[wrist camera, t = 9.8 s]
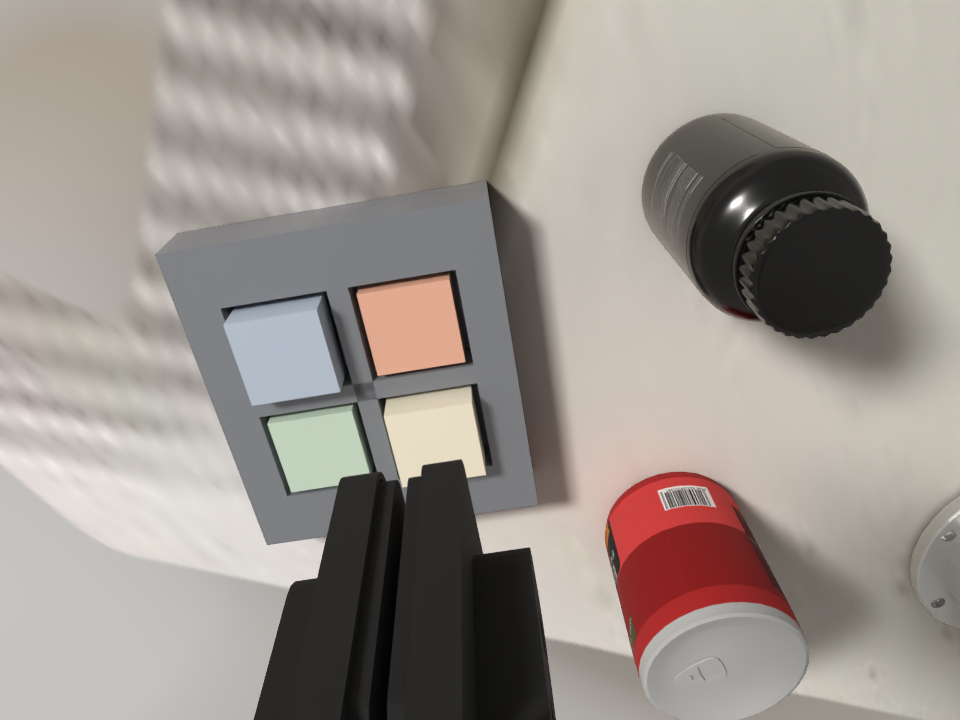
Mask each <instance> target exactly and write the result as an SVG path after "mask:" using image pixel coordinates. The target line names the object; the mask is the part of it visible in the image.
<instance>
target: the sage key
mask: <svg viewBox="0 0 960 720" xmlns="http://www.w3.org/2000/svg"><path fill="white" fill-rule="evenodd" d="M267 425H268V428H269V431H270V433H271V436H272V439H273V442H274V445H275V448H276V450H277V453H278V456H279V459H280V462H281V465H282V467H283V470H284V473H285V476H286V479H287V482H288V485H289V487H290V490H291V492H298V491H305V490H311V489H318V488H324V487H331V486H338V485H339V481H340V479H341V478H342V477H347V476H354V475H360V474H367V473H373V469H374V459H373V456H372V452H371V449H370V445H369V441H368V438H367V434H366V431H365V427H364V424H363V420H362V416H361V413H360V409H359V406H358V402H354V403H348V404H342V405H335V406H329V407H323V408H316V409H310V410H303V411H297V412H291V413H284V414H278V415H272V416H270V419H269V421H268V424H267Z"/></svg>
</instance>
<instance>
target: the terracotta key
mask: <svg viewBox="0 0 960 720" xmlns="http://www.w3.org/2000/svg"><path fill="white" fill-rule="evenodd" d="M357 298H358V302H359V306H360V310H361V314H362V318H363V321H364V325H365V329H366V333H367V337H368V341H369V344H370V348H371V352H372V356H373V360H374V364H375V367H376V371H377V375H378V376H381V375H387V374H393V373H400V372H406V371H412V370H419V369H425V368H431V367H437V366H444V365H450V364H456V363H463V362H465V341H464V336H463V330H462V325H461V320H460V315H459V310H458V305H457V300H456V294H455V289H454V284H453V279H452V274H451V271H445V272H439V273H433V274H427V275H421V276H415V277H409V278H403V279H396V280H390V281H384V282H378V283H372V284H366V285H360V286H359V288H358V292H357Z"/></svg>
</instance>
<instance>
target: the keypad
mask: <svg viewBox="0 0 960 720" xmlns="http://www.w3.org/2000/svg"><path fill="white" fill-rule="evenodd" d="M155 256H156V258H157V261H158V264H159V266H160V269H161V271H162V274H163V277H164V279H165V282H166V284H167V287H168V289H169V292H170V295H171V297H172V300H173V302H174V305H175V308H176V310H177V313H178V315H179V318H180V321H181V323H182V326H183V328H184V331H185V334H186V336H187V339H188V341H189V344H190V346H191V349H192V352H193V354H194V357H195V359H196V362H197V365H198V367H199V370H200V372H201V375H202V378H203V380H204V383H205V385H206V388H207V391H208V393H209V396H210V398H211V401H212V403H213V406H214V409H215V411H216V414H217V416H218V419H219V422H220V424H221V427H222V429H223V432H224V435H225V437H226V440H227V442H228V445H229V448H230V450H231V453H232V455H233V458H234V460H235V463H236V466H237V468H238V471H239V473H240V476H241V479H242V481H243V484H244V486H245V489H246V492H247V494H248V497H249V499H250V502H251V504H252V507H253V510H254V512H255V515H256V517H257V520H258V523H259V525H260V528H261V530H262V533H263V536H264V538H265V541H266V543H267V545H271V544H278V543H285V542H292V541H298V540H305V539H312V538H319V537H325V536H327V533H328V529H329V524H330V520H331V516H332V511H333V507H334V502H335V498H336V493H337V489H338V486H331V487H324V488H318V489H311V490H305V491H298V492H291V490H290V487H289V485H288V482H287V479H286V476H285V473H284V470H283V467H282V465H281V462H280V459H279V456H278V453H277V450H276V448H275V445H274V442H273V439H272V436H271V433H270V431H269V428H268V425H267V424H268V421H269V419H270V416H272V415H278V414H284V413H291V412H297V411H303V410H310V409H316V408H323V407H329V406H335V405H342V404H348V403H354V402H358V406H359V409H360V413H361V416H362V420H363V424H364V427H365V431H366V434H367V438H368V441H369V445H370V449H371V452H372V456H373V459H374V469H373V473H374V472H382V473H383V475H384V477H385V479H386V481H391V480H398V481H399V483H400V486H401V489H402V493H403V496H404V500H405V504H406V494H407V487H403V488H402V484H401V480H400V476H399V473H398V469H397V465H396V461H395V457H394V454H393V450H392V446H391V442H390V439H389V435H388V431H387V427H386V423H385V420H384V412H385V406H386V399H387V397H393V396H399V395H405V394H412V393H418V392H424V391H431V390H437V389H444V388H450V387H456V386H463V385H469V384H471V385H472V390H473V395H474V400H475V405H476V410H477V415H478V420H479V426H480V431H481V436H482V441H483V446H484V451H485V466H486V475H482V476H476V477H469V478H467V481H468V486H469V491H470V495H471V500H472V505H473V509H474V514H481V513H488V512H494V511H501V510H508V509H515V508H521V507H528V506H535V505H538V500H537V493H536V487H535V480H534V473H533V467H532V461H531V455H530V449H529V442H528V436H527V430H526V424H525V418H524V411H523V405H522V399H521V393H520V387H519V380H518V374H517V368H516V362H515V356H514V350H513V343H512V337H511V331H510V325H509V319H508V312H507V306H506V300H505V294H504V288H503V281H502V275H501V269H500V263H499V257H498V250H497V244H496V238H495V232H494V226H493V219H492V213H491V207H490V201H489V195H488V189H487V182H486V181H481V182H475V183H469V184H463V185H457V186H451V187H445V188H440V189H434V190H428V191H422V192H416V193H410V194H405V195H399V196H393V197H387V198H381V199H375V200H369V201H364V202H358V203H352V204H346V205H340V206H334V207H328V208H323V209H317V210H311V211H305V212H299V213H293V214H287V215H282V216H276V217H270V218H264V219H258V220H252V221H246V222H241V223H235V224H229V225H223V226H217V227H211V228H206V229H200V230H194V231H188V232H182V233H177V234H176V235H175V236H174V237H173V238H172V239H171V240H170V241H169V242H168V243H167V244H166V245H165V246H164V247H163V248H162V249H160V250H159V251H158V252H157V253H156V254H155ZM445 271H451V274H452V279H453V284H454V289H455V294H456V300H457V305H458V310H459V315H460V320H461V325H462V330H463V336H464V341H465V362H463V363H456V364H450V365H444V366H437V367H431V368H425V369H419V370H412V371H406V372H400V373H393V374H387V375H381V376H378V375H377V371H376V367H375V364H374V360H373V356H372V352H371V348H370V344H369V341H368V337H367V333H366V329H365V325H364V321H363V318H362V314H361V310H360V306H359V302H358V298H357V292H358V288H359V286H360V285H366V284H372V283H378V282H384V281H390V280H396V279H403V278H409V277H415V276H421V275H427V274H433V273H439V272H445ZM318 293H324V296H325V299H326V303H327V307H328V310H329V314H330V317H331V321H332V324H333V328H334V331H335V335H336V338H337V342H338V345H339V349H340V352H341V356H342V360H343V363H344V367H345V370H346V373H345V377H344V381H343V385H342V388H341V392H337V393H331V394H325V395H318V396H312V397H306V398H299V399H293V400H287V401H280V402H274V403H268V404H261V405H255V406H252V404H251V402H250V399H249V396H248V393H247V391H246V388H245V385H244V382H243V379H242V377H241V374H240V371H239V368H238V365H237V363H236V360H235V357H234V354H233V351H232V349H231V346H230V343H229V340H228V337H227V335H226V332H225V329H224V326H223V325H224V323H225V321H226V320H227V318H228V317H229V315H230V314H231V312H232V311H233V309H234V308H235V307H239V306H245V305H251V304H257V303H263V302H269V301H275V300H281V299H287V298H294V297H300V296H306V295H312V294H318Z"/></svg>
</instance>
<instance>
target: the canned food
mask: <svg viewBox="0 0 960 720" xmlns="http://www.w3.org/2000/svg"><path fill="white" fill-rule="evenodd" d="M605 542H606V548H607V552H608V556H609V560H610V564H611V568H612V572H613V576H614V580H615V584H616V588H617V592H618V596H619V600H620V604H621V608H622V612H623V616H624V620H625V624H626V628H627V632H628V636H629V640H630V645H631V649H632V653H633V657H634V661H635V664H636V667H637V670H638V674H639V678H640V681H641V683H642V685H643V688H644V691H645V693H646V696H647V698H648V700H649V701H650V702H651V703H652V704H653V706H654V707H655V708H657V709H658V710H660V711H661V712H662V713H664V714H665V715H667V716H670V717H672V718H674V719H677V720H741V719H745V718H748V717H752V716H754V715H756V714H759V713H761V712H763V711H766V710H767V709H769V708H771V707H773V706H774V705H776V704H778V703H779V702H780V701H782V700H783V699H784V698H785V697H787V696H788V695H789V694H790V693H791V692H792V691H793V690H794V689H795V688H796V687H797V686H798V685H799V683H800V681H801V680H802V678H803V676H804V675H805V673H806V670H807V667H808V663H809V650H808V646H807V643H806V640H805V638H804V635H803V631H802V629H801V628H800V626H799V624H798V622H797V620H796V618H795V615H794V613H793V611H792V609H791V607H790V605H789V603H788V602H787V600H786V598H785V596H784V594H783V592H782V590H781V588H780V586H779V584H778V583H777V581H776V579H775V577H774V575H773V573H772V571H771V569H770V567H769V565H768V563H767V562H766V560H765V558H764V556H763V554H762V552H761V550H760V548H759V546H758V544H757V543H756V541H755V539H754V537H753V535H752V533H751V531H750V529H749V527H748V525H747V523H746V522H745V520H744V518H743V516H742V514H741V512H740V510H739V508H738V506H737V504H736V503H735V501H734V500H733V498H732V497H731V495H730V494H729V493H728V492H727V491H725V490H724V489H723V488H722V487H721V486H720V485H718V484H717V483H716V482H714V481H713V480H711V479H709V478H707V477H705V476H702V475H699V474H695V473H688V472H670V473H664V474H659V475H656V476H653V477H650V478H647V479H645V480H643V481H641V482H639V483H637V484H635V485H634V486H632V487H631V488H629V489H628V490H627V491H625V492H624V493H623V494H622V495H621V496H620V498H619V499H618V500H617V501H616V502H615V504H614V505H613V507H612V509H611V511H610V513H609V516H608V519H607V525H606V531H605Z"/></svg>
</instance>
